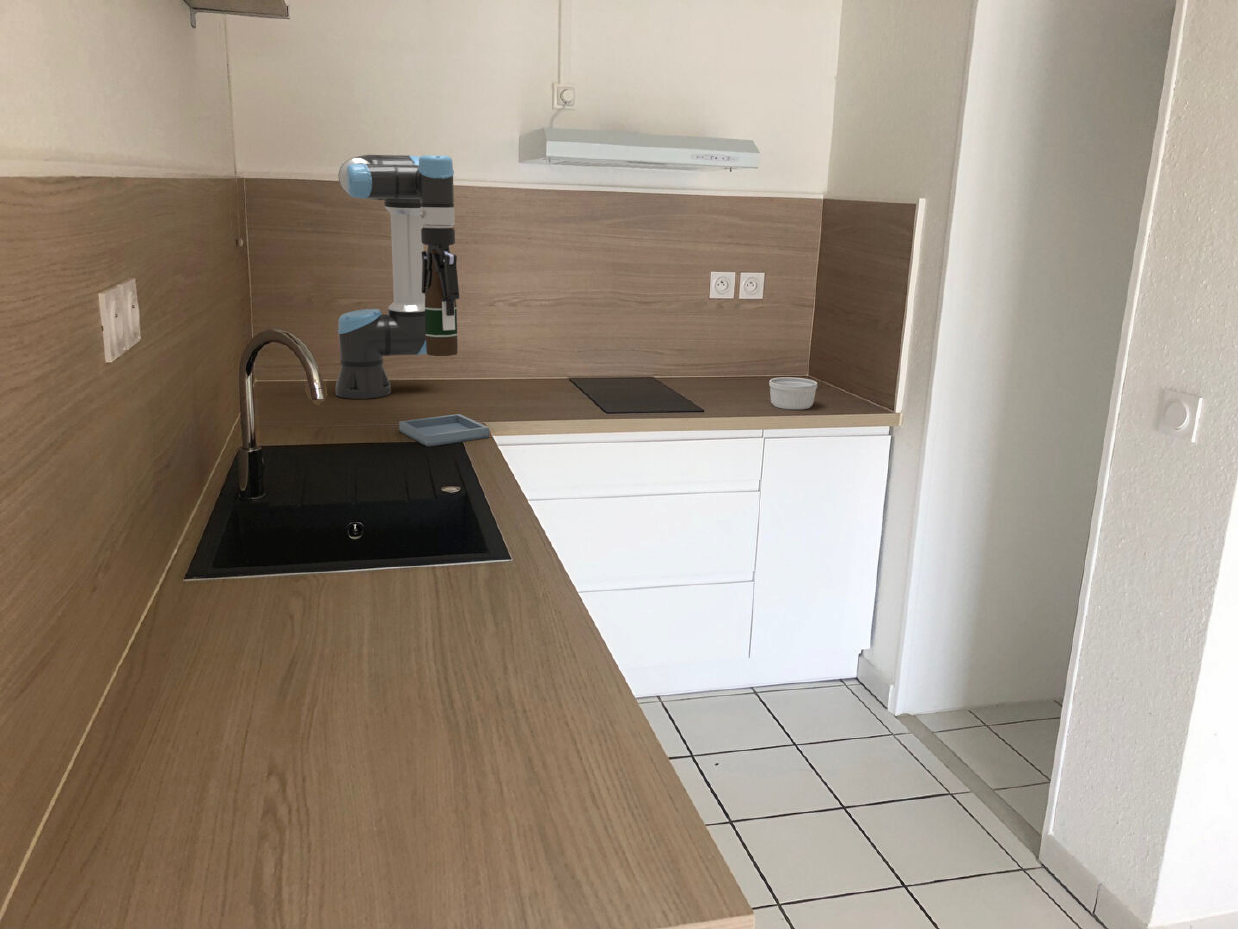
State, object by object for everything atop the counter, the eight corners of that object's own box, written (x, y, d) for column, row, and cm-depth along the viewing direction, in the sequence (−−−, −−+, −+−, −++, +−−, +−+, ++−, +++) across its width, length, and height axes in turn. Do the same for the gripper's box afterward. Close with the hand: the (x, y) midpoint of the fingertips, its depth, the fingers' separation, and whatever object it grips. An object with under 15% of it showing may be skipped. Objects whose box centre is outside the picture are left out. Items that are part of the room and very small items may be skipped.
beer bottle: (451, 357, 225) (448, 250, 218) (419, 355, 226) (416, 249, 220) (463, 352, 232) (461, 248, 226) (432, 350, 233) (429, 247, 227)
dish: (399, 431, 237) (399, 421, 236) (459, 423, 246) (459, 413, 245) (427, 446, 224) (426, 436, 224) (489, 437, 233) (489, 427, 232)
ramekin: (769, 399, 281) (770, 375, 279) (815, 402, 279) (817, 378, 277) (766, 409, 269) (768, 384, 267) (815, 412, 266) (817, 387, 264)
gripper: (404, 224, 227) (408, 323, 233) (442, 228, 211) (445, 334, 217) (433, 224, 231) (437, 321, 238) (473, 228, 215) (475, 331, 221)
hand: (441, 327), depth 227 cm, fingers closed on beer bottle, 8 cm apart
